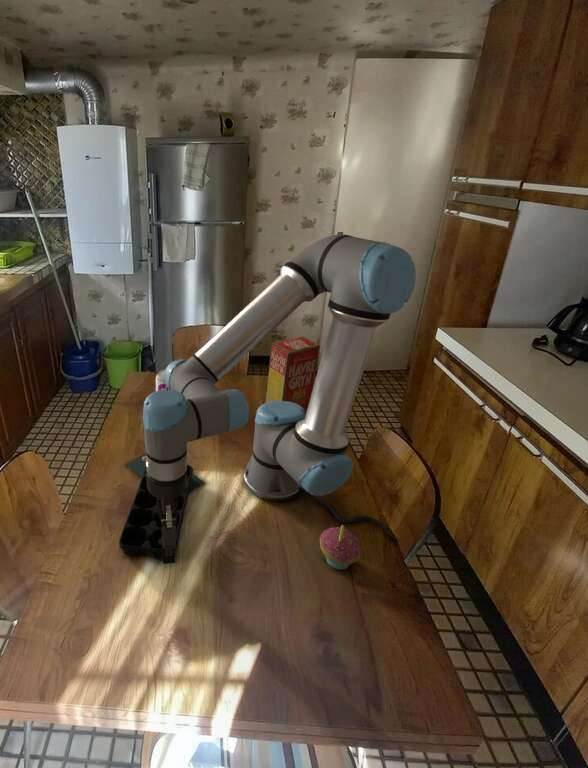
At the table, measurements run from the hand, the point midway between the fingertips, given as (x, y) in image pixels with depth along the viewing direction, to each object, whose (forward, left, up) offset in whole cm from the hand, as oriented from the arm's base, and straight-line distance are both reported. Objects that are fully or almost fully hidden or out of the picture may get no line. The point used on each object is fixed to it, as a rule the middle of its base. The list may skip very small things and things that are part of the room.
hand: (168, 560), depth 91 cm
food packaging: (+21, -70, -2) cm, 73 cm away
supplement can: (+47, -39, -2) cm, 61 cm away
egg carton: (+13, -8, -2) cm, 16 cm away
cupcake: (-23, -27, -2) cm, 36 cm away
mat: (+24, -18, -2) cm, 30 cm away
